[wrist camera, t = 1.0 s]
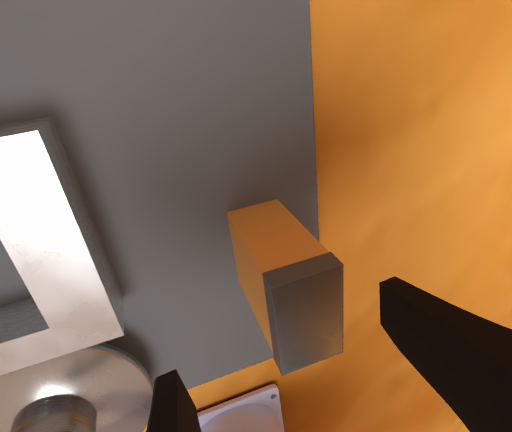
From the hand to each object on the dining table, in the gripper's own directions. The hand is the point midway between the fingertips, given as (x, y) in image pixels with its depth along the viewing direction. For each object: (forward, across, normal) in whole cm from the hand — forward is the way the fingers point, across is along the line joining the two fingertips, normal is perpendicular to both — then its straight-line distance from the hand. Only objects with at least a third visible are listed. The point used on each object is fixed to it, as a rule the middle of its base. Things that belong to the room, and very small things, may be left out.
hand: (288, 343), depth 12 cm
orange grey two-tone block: (+9, -2, +2) cm, 10 cm away
